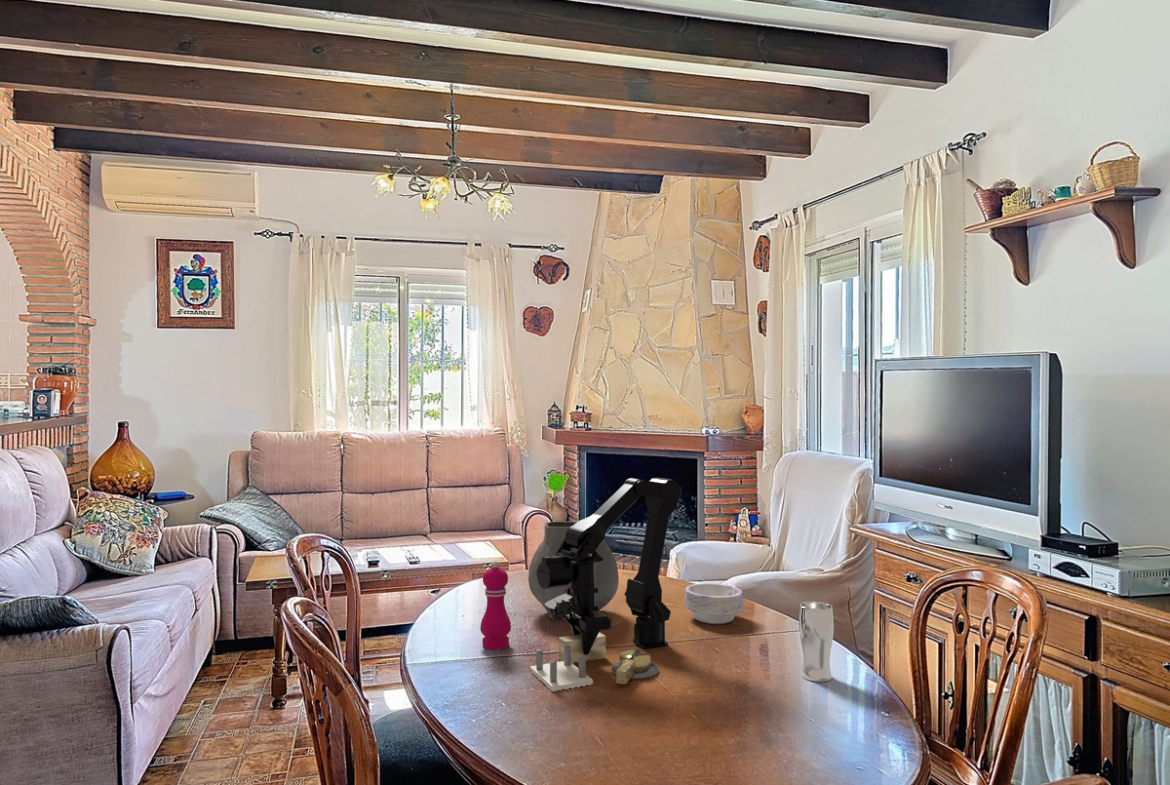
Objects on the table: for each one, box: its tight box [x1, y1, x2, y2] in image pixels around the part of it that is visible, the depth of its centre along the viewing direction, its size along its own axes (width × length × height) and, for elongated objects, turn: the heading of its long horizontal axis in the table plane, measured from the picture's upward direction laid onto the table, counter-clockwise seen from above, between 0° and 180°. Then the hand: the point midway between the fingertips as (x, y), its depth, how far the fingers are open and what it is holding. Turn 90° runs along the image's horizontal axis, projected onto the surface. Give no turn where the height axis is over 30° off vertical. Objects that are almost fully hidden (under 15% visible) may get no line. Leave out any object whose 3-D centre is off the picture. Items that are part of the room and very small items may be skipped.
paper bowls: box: [684, 582, 744, 625], centre depth 209 cm, size 15×15×8 cm
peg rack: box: [529, 645, 594, 692], centre depth 167 cm, size 13×9×5 cm
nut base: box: [611, 662, 659, 680], centre depth 170 cm, size 10×10×1 cm
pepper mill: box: [479, 560, 512, 651], centre depth 188 cm, size 7×7×20 cm
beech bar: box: [558, 631, 607, 664], centre depth 179 cm, size 10×4×5 cm, turn 114°
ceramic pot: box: [527, 520, 620, 613], centre depth 214 cm, size 24×24×25 cm
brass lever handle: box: [615, 648, 651, 685], centre depth 167 cm, size 14×7×3 cm, turn 161°
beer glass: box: [798, 601, 835, 683], centre depth 166 cm, size 7×7×15 cm
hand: (582, 651), depth 179 cm, fingers closed on beech bar, 3 cm apart
